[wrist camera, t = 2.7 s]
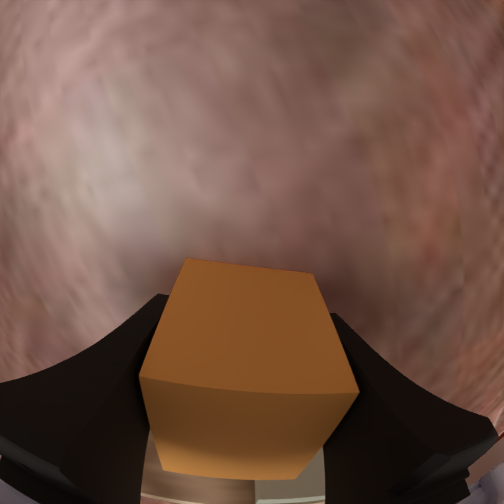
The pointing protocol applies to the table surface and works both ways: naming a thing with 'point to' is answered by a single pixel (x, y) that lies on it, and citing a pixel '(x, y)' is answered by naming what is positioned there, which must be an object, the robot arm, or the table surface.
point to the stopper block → (244, 373)
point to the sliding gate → (295, 485)
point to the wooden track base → (194, 485)
